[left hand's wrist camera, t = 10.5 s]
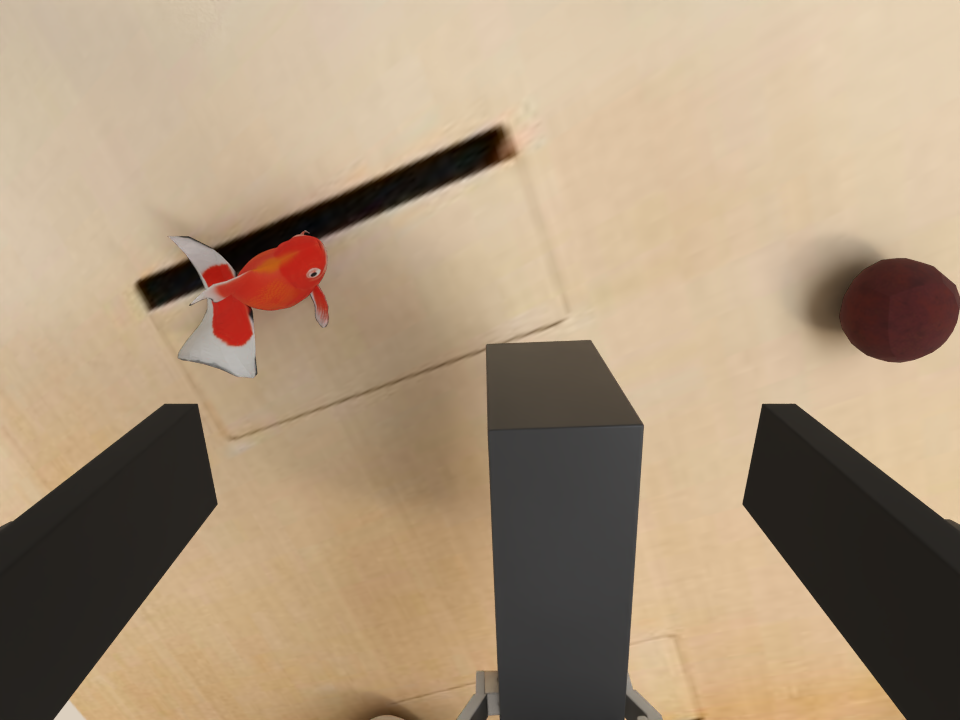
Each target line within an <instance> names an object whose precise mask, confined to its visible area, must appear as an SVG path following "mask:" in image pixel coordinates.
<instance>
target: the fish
mask: <svg viewBox="0 0 960 720" xmlns="http://www.w3.org/2000/svg"><path fill="white" fill-rule="evenodd" d="M304 232H307V233H309V232H308V231H306V230H305V231H304ZM304 232H302V233H301V234H299V235H296V236H294V237H293V238H291V239H290V240H289V241H286V242H283V243H281V244H280V245H279V246H278V247H277V248H273V249H270V250H267V251H265V252H262V253H260V254H258V255H257V256H255V257H254V258H252V259H251V260H250V261H249V262H248V263H247V264H246V265H245V266H244V267H243V269H242V270H241V271H240V272H239V274H237V273H236V272H235V271H234V269H233V268H232V267H231V266H230V264H229V263H228V262H227V261H226V260H225V259H224V258H223V257H222V256H221V255H220V254H218V253H217V252H216V251H215V250H214V249H212V248H211V247H209V246H207V245H205V244H203V243H201V242H199V241H197V240H195V239H193V238H191V237H189V236H168V237H169V238H170V239H171V240H172V241H174V242H175V243H176V244H177V245H178V247H179V248H180V249H181V250H182V251H183V252H184V253H185V254H186V255H187V257H188V258H189V260H190V261H191V263H192V264H193V266H194V267H195V269H196V270H197V272H198V274H199V276H200V278H201V280H202V282H203V285H204V287H205V291H203V292H202V293H201V294H200V295H199V296H198V297H197V298H196V299H195V300H194V301H193V302H192V303H191V304H190V305H189V306H191V305H193V304H195V303H196V302H198V301H200V300H203V299H207V301H208V309H207V311H206V314H205V316H204V318H203V320H202V322H201V323H200V325H199V326H198V328H197V329H196V330H195V331H194V332H193V333H192V335H191V336H190V337H189V338H188V340H187V341H186V342H185V344H184V345H183V347H182V348H181V350H180V351H179V354H178V358H179V359H181V360H185V361H192V362H197V363H202V364H206V365H209V366H212V367H215V368H219V369H221V370H224V371H226V372H228V373H230V374H232V375H234V376H237V377H249V378H254V377H255V376H256V375H257V366H256V353H255V334H254V323H253V312H252V309H251V307H253V308H257V309H262V310H278V309H284V308H289V307H292V306H294V305H296V304H297V303H299V302H300V301H302V300H303V299H305V298H306V297H307V296H309V295H310V296H311V298H312V300H313V302H314V304H315V317H316V320H317V321H318V323H319V324H320V326H321V327H326V326H327V324H328V320H329V316H328V304H327V301H326V298H325V295H324V294H323V292H322V290H321V289H320V287H319V286H318V284H319V283H320V281H321V280H322V278H323V276H324V274H325V271H326V268H327V263H328V257H327V252H326V249H325V247H324V245H323V243H322V242H321V241H320V240H319V239H317V238H315V237H312V236H307V235H304ZM309 234H310V233H309Z"/></svg>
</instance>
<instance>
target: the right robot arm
mask: <svg viewBox="0 0 960 720" xmlns="http://www.w3.org/2000/svg"><path fill="white" fill-rule="evenodd" d="M488 715H500V711H499V687H498V671H476V694H474V695H473V696H472V698H471V699H470V700H469V702H468V703H467V705H466V706H465V708H464V709H463V711H462V712H461V714H460V715H459V716H458V718H457V719H456V720H486V719H487V717H488ZM625 718H626V719H627V720H663V719H662V716H661V714H660V713H659V712H658V711H657V710H656V709H655V708H654V707H652V706H651V705H650V704H649V703H648V702H647V701H646V700H645V699H644V698H643V697H642V696H641V695H640V694H639V693H638V692H637V691H636V690H633V687H632V684H631V680H630V677H629V674H627V689H626V704H625Z"/></svg>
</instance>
